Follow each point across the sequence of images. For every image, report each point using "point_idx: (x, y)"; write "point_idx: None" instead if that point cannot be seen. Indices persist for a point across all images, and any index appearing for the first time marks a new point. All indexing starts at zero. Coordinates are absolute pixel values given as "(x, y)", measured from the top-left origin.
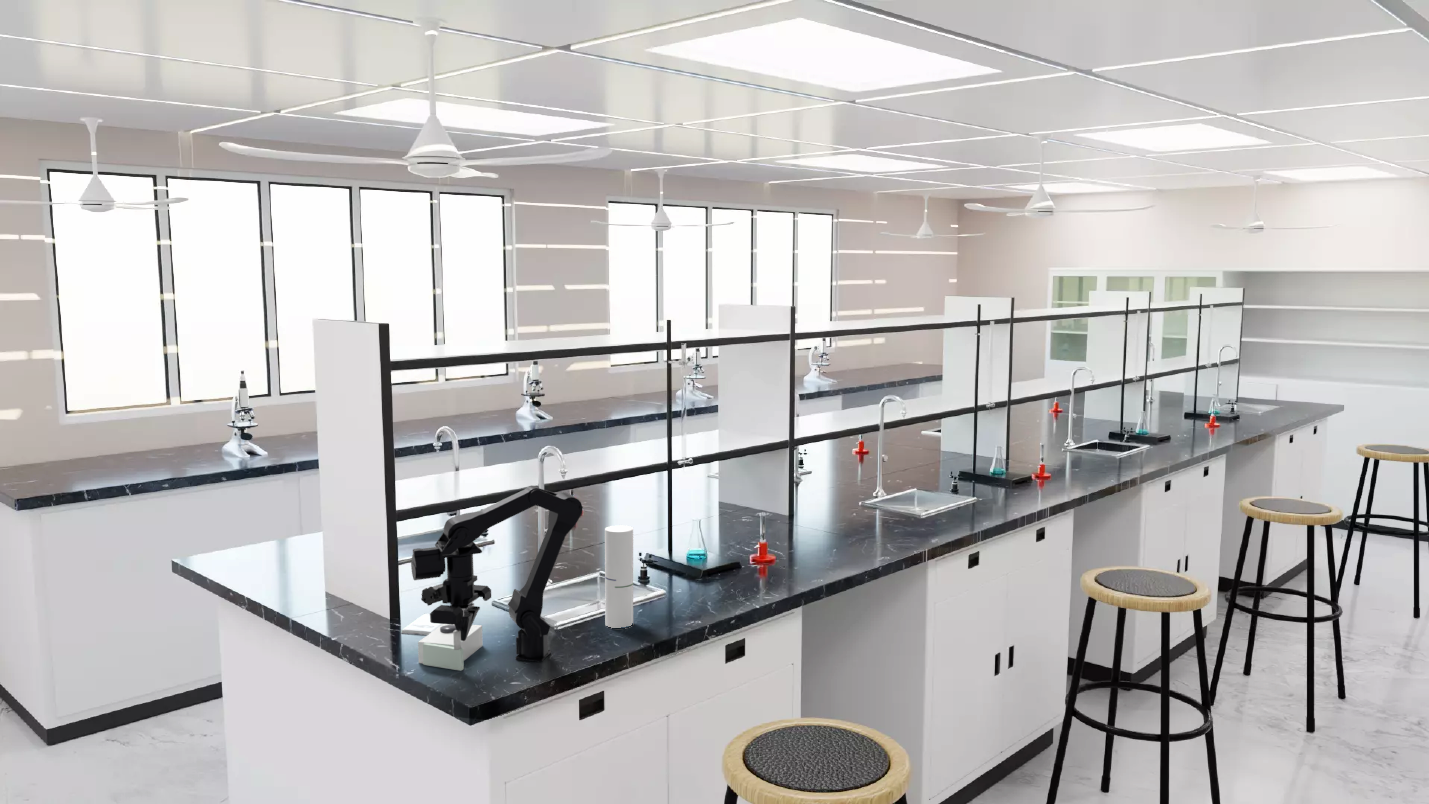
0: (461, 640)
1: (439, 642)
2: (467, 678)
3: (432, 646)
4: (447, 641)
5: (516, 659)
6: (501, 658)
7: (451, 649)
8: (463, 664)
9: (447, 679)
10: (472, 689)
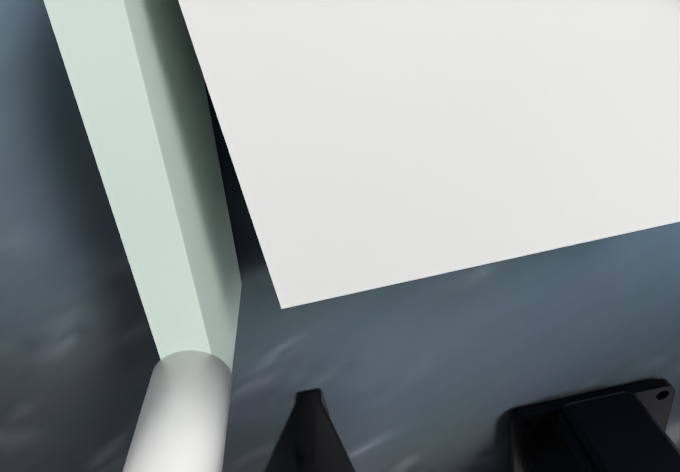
0: (299, 395)
1: (248, 60)
2: (150, 368)
3: (69, 63)
4: (336, 140)
5: (510, 417)
6: (519, 339)
7: (155, 330)
8: (237, 307)
9: (49, 285)
10: (50, 465)
